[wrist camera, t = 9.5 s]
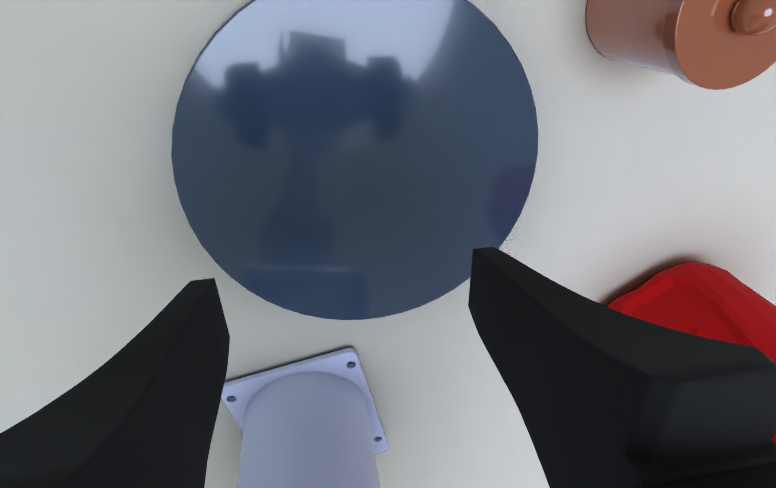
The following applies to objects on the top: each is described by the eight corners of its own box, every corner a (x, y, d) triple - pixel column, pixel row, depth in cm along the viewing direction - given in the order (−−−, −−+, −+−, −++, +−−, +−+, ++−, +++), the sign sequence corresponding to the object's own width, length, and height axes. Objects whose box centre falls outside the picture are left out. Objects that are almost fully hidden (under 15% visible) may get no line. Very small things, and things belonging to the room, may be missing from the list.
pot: (683, 49, 21) (829, 75, 15) (581, 76, 21) (690, 113, 15) (698, -80, 18) (881, -107, 13) (582, -50, 18) (715, -64, 12)
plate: (535, 263, 26) (543, 273, 25) (256, 341, 25) (254, 354, 24) (519, -80, 17) (531, -83, 16) (98, 25, 17) (88, 27, 16)
